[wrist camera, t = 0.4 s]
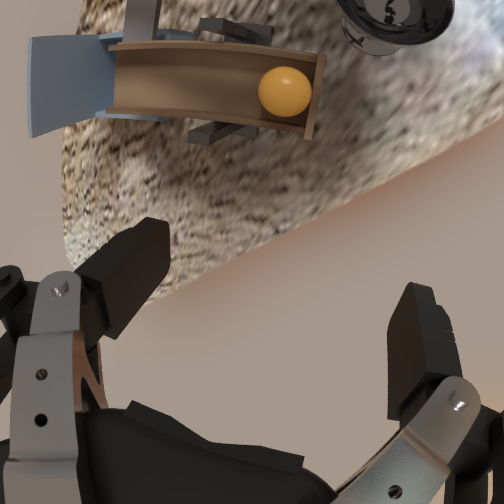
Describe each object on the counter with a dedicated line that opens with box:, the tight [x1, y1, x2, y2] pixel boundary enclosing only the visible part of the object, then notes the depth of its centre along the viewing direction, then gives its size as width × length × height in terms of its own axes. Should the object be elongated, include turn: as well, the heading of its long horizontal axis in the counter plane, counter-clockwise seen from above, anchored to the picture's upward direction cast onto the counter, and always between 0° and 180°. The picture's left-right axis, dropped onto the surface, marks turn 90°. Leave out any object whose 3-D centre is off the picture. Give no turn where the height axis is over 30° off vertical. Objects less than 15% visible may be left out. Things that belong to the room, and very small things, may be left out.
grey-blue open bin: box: [27, 29, 196, 138], centre depth 27 cm, size 10×10×16 cm
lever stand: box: [187, 18, 274, 146], centre depth 28 cm, size 13×5×11 cm, turn 172°
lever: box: [105, 0, 327, 141], centre depth 22 cm, size 14×18×3 cm
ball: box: [258, 66, 312, 117], centre depth 22 cm, size 4×4×4 cm
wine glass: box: [335, 0, 455, 56], centre depth 19 cm, size 8×8×15 cm
